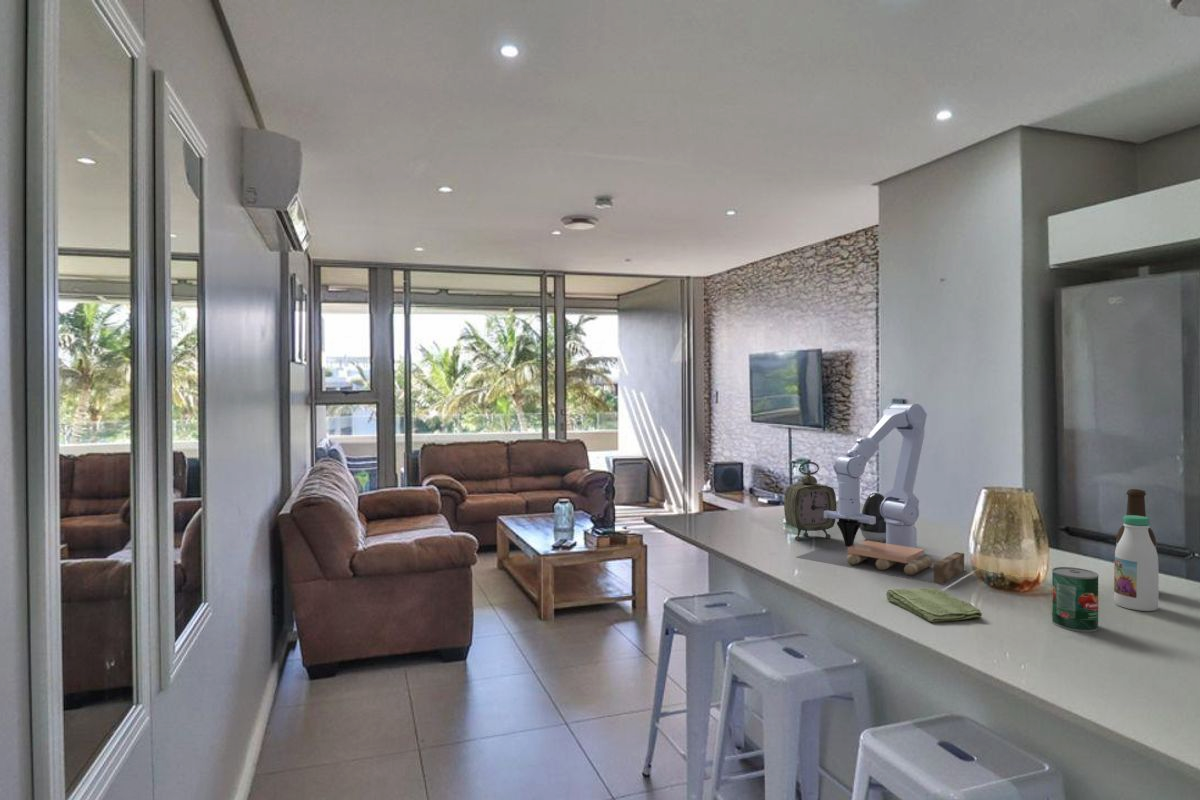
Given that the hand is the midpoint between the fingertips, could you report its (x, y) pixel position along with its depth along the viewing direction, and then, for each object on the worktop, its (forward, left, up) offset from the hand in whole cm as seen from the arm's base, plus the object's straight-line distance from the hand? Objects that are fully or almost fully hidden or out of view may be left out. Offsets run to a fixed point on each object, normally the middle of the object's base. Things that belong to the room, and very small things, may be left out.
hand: (849, 546), depth 195 cm
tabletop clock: (-17, -22, -4) cm, 28 cm away
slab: (0, +10, 0) cm, 10 cm away
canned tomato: (+19, +57, -4) cm, 60 cm away
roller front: (0, +10, -2) cm, 10 cm away
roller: (0, +19, -3) cm, 19 cm away
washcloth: (+28, +33, -5) cm, 43 cm away
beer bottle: (-19, +62, -4) cm, 65 cm away
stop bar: (0, +27, -4) cm, 27 cm away
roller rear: (0, +2, -2) cm, 3 cm away
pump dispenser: (-29, -5, -4) cm, 30 cm away
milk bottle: (-4, +64, -4) cm, 64 cm away
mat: (0, +8, -4) cm, 9 cm away
